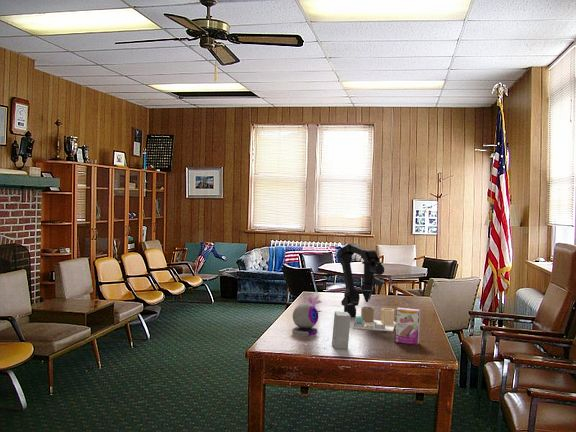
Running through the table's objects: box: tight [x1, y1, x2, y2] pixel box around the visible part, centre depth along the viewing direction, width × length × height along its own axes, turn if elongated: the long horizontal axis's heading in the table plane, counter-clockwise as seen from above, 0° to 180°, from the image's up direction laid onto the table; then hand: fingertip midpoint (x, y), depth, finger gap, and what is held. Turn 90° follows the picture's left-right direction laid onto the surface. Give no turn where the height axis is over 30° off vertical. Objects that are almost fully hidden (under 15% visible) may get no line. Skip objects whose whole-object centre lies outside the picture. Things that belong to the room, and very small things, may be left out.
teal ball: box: [355, 315, 363, 324], centre depth 315 cm, size 4×4×4 cm
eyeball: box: [291, 302, 319, 337], centre depth 300 cm, size 13×13×15 cm
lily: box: [301, 294, 323, 308], centre depth 357 cm, size 12×12×10 cm
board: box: [352, 306, 396, 332], centre depth 321 cm, size 21×22×8 cm
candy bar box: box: [394, 307, 421, 346], centre depth 285 cm, size 11×5×16 cm, turn 71°
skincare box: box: [331, 311, 352, 350], centre depth 274 cm, size 8×7×16 cm
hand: (368, 300), depth 328 cm, fingers open, 9 cm apart
